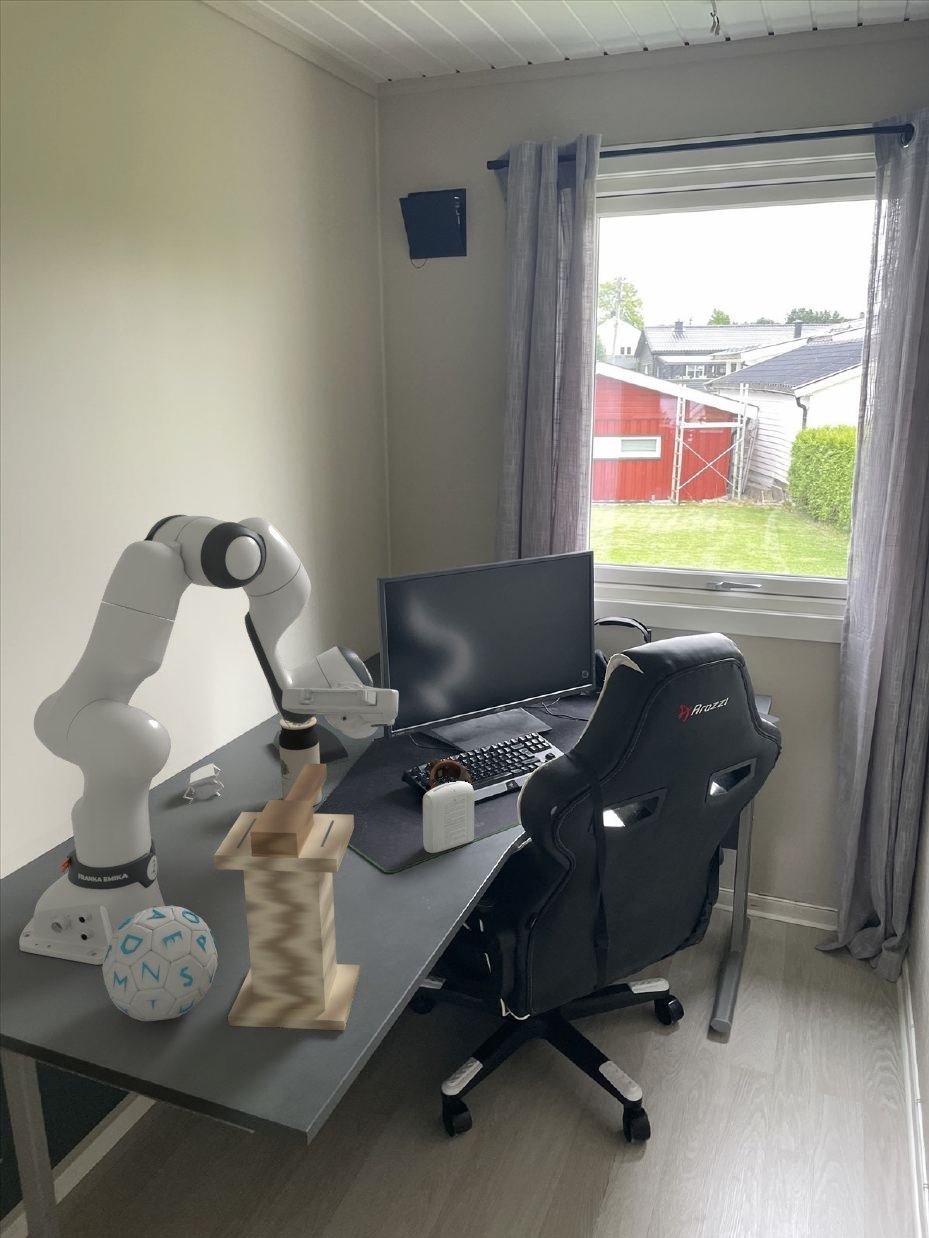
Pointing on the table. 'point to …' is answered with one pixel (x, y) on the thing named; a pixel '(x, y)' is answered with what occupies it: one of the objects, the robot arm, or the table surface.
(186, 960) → the puzzle ball
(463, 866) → the table surface
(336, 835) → the pine stand
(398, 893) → the table surface
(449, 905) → the table surface
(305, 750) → the travel mug
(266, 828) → the wooden mallet
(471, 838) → the photo printer
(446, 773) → the pottery mug
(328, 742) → the dark grey flat piece
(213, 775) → the light grey legged piece
